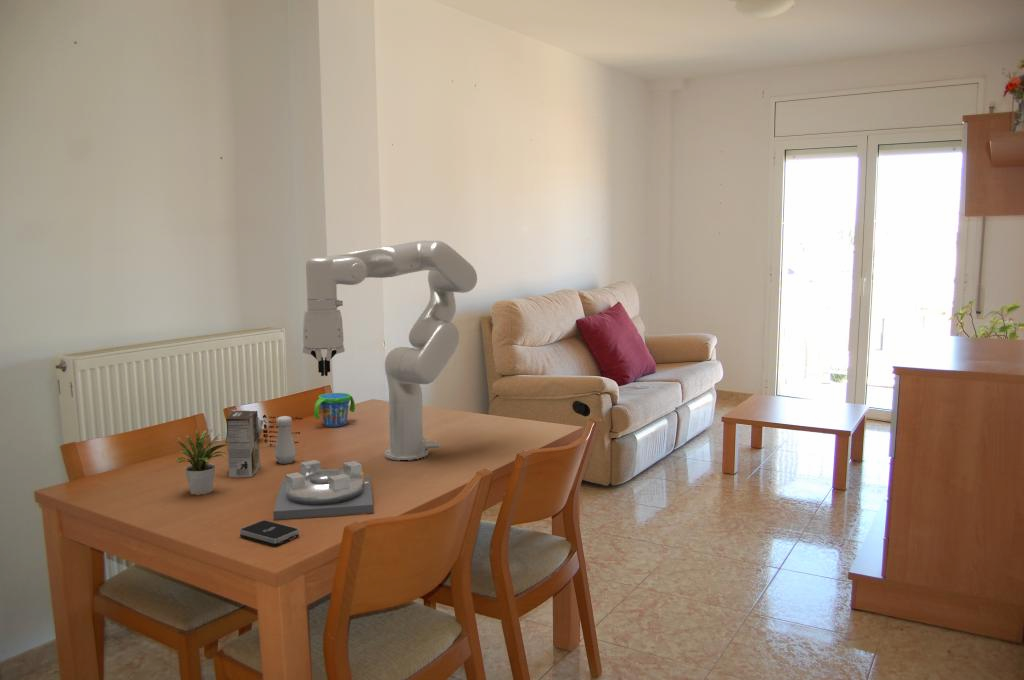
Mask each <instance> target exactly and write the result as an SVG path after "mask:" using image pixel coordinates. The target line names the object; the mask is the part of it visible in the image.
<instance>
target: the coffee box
mask: <svg viewBox="0 0 1024 680" xmlns="http://www.w3.org/2000/svg"><path fill="white" fill-rule="evenodd" d="M258 417H259V415H258V410H238V411H234V412H233V413H232V414H231V415H230V414H229V415H228V416H227V418H226V434H227V444H232V445H227V456H228V457H227V459H228V460H227V461H228V476H229V477H228V478H252V477H254V476H255V475H256V474H257V472H258V471H259V469H260V468H261V457H260V437H259V432H258Z"/></svg>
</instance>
